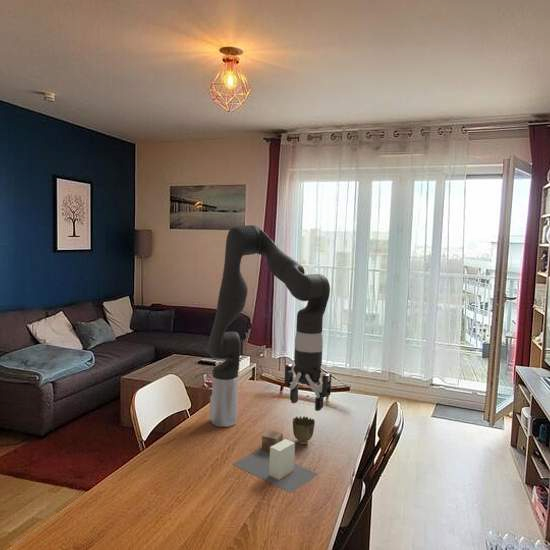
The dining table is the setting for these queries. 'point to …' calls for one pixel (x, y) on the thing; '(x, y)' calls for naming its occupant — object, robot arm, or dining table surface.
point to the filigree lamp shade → (303, 429)
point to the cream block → (281, 459)
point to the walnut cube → (271, 439)
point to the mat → (260, 468)
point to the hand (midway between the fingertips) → (306, 406)
